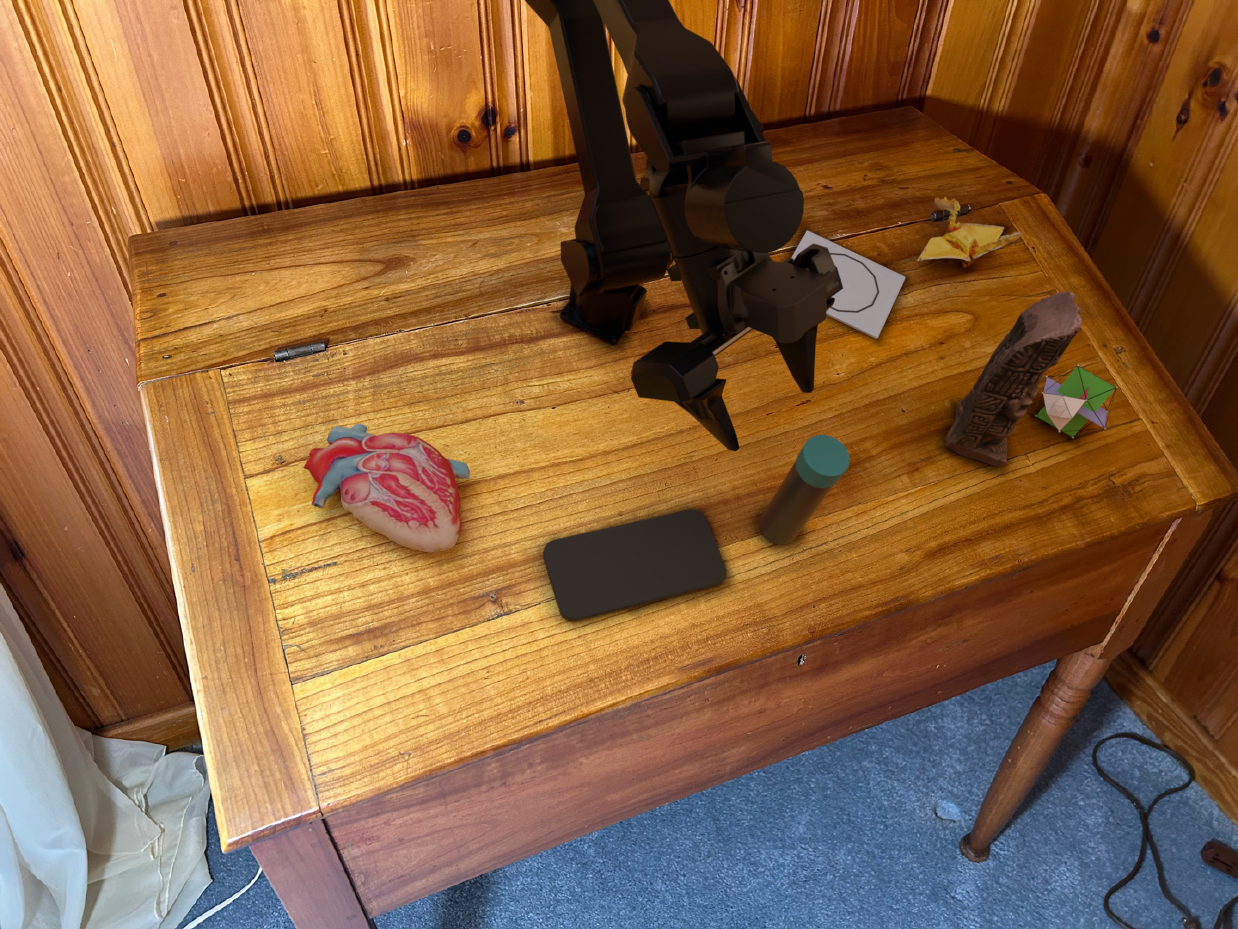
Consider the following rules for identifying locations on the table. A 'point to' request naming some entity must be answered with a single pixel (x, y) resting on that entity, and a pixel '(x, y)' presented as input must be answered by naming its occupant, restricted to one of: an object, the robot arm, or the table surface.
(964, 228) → the origami crane
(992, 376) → the statue
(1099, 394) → the geometric puzzle
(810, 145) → the table surface
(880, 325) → the white rectangular board
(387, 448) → the anatomical model
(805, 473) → the dot marker
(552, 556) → the phone
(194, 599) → the table surface
